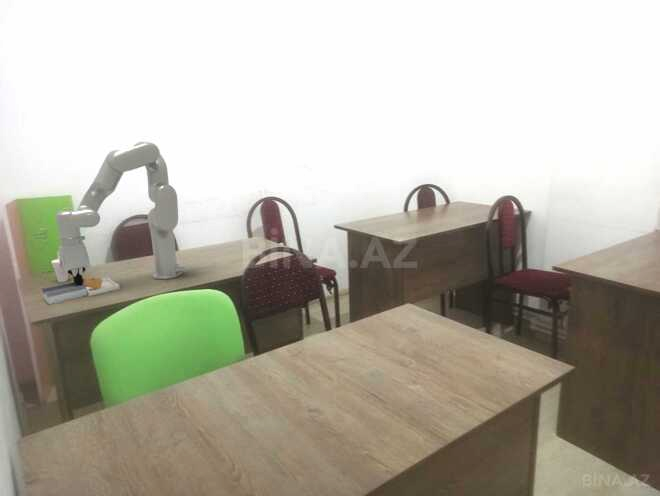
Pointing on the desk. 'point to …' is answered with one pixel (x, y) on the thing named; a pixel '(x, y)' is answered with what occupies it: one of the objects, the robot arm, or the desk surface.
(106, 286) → the tray
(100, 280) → the orange square block
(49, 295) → the slot block
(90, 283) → the chip
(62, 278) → the smoothie
